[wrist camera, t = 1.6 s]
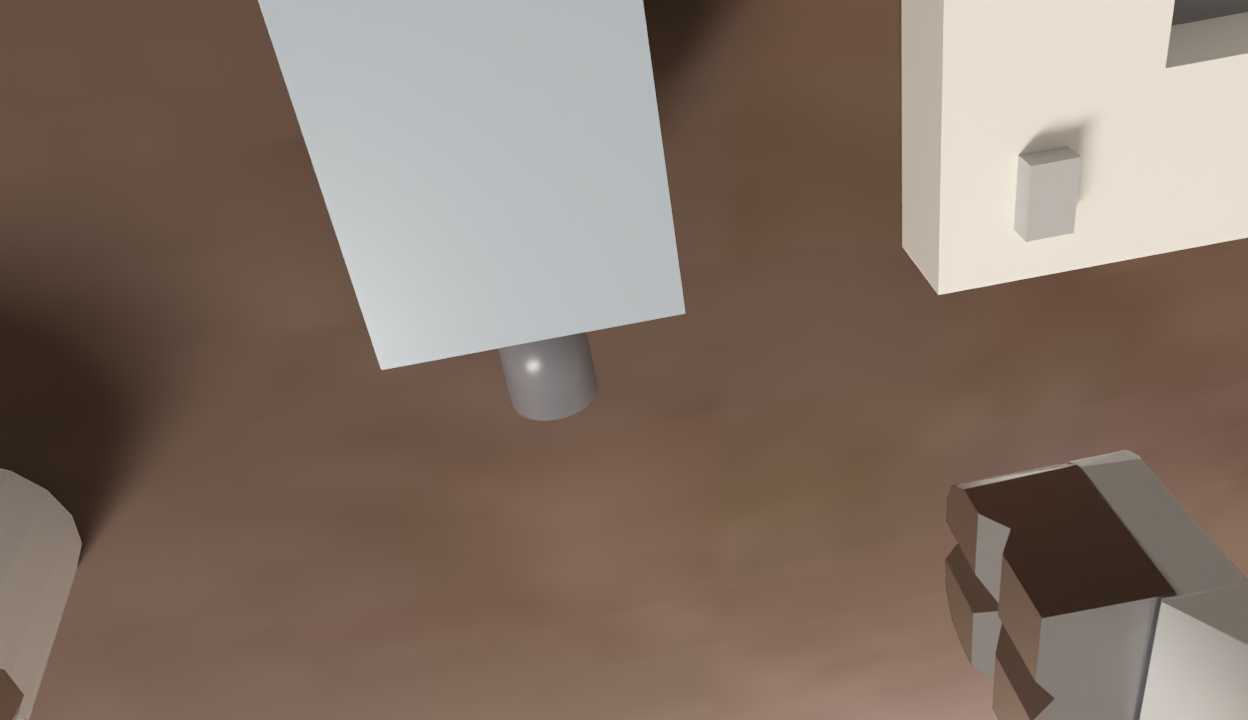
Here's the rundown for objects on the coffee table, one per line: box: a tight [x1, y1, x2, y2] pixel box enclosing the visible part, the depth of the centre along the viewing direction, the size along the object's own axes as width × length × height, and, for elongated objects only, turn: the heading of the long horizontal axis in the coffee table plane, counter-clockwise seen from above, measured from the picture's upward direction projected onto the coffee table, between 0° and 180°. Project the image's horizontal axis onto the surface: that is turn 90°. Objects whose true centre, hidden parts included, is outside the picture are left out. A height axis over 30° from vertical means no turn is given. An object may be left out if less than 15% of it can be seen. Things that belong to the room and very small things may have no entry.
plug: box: [258, 0, 685, 421], centre depth 22 cm, size 11×6×8 cm, turn 8°
